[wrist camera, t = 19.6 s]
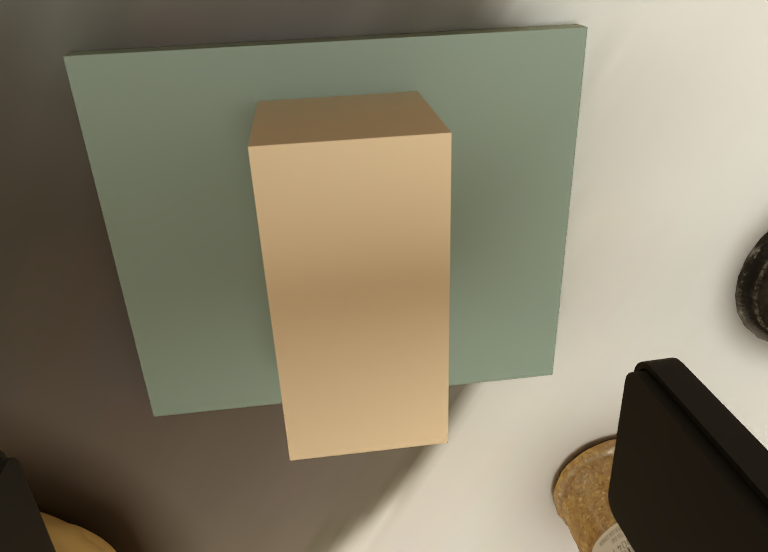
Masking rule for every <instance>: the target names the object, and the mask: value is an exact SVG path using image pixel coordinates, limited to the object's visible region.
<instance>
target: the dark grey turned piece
mask: <svg viewBox="0 0 768 552" xmlns="http://www.w3.org/2000/svg"><path fill="white" fill-rule="evenodd" d="M735 297H736V305H737V312H738V314H739V316H740V318H741V320H742V322H743V324H744V325H745V326H746V327H747V328H748V329H749V330H750V331H751V332H753V333H754V334H755V335H756V336H757V337H758V338H761V339H763V340H766V341H768V233H767V234H766V235H764V236H763V237H762V238H761V239H760V241H759V242H758V243H757V245H756V246H755V247H754V249H753V250H752V252H751V253H750V254H749V256H748V257H747V259H746V261H745V263H744V266H743V268H742V270H741V272H740V275H739V277H738V283H737V289H736V294H735Z"/></svg>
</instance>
